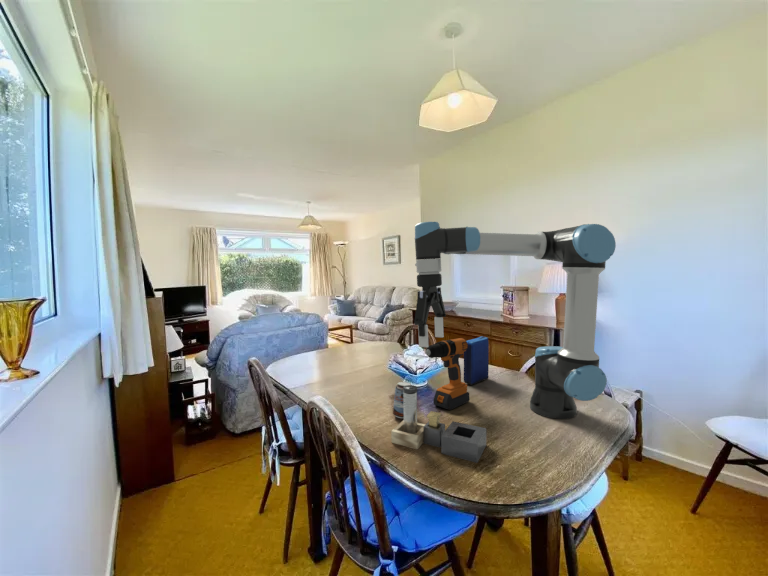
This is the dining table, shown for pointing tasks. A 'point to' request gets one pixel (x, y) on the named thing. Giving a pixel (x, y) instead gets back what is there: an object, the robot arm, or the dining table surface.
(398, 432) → the wooden tray
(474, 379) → the book
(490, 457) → the dining table surface
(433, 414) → the tan wooden peg
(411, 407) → the capped tube
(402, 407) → the beverage can
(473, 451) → the socket block
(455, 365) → the power drill
